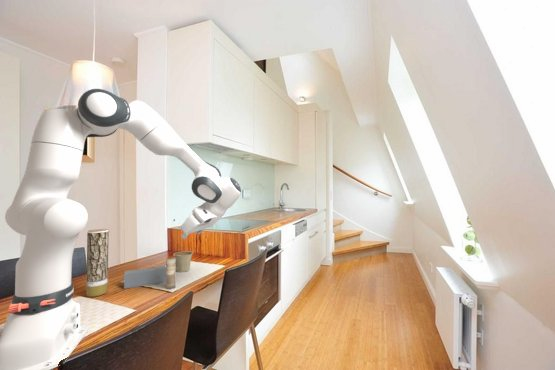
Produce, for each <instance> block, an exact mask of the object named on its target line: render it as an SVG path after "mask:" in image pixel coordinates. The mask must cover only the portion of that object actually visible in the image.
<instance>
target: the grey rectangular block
mask: <svg viewBox="0 0 555 370" xmlns="http://www.w3.org/2000/svg"><path fill="white" fill-rule="evenodd" d="M123 276H124V277H123V278H124V279H123V280H124V281H123V282H124V283H123V289H125V290H126V289H132V288H139V287H145V286H150V285H151V286H152V285H157V284H163V283H166V265H159V266H154V267H153V266H152V267H146V268H139V269H133V270H125V271H124V275H123Z"/></svg>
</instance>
